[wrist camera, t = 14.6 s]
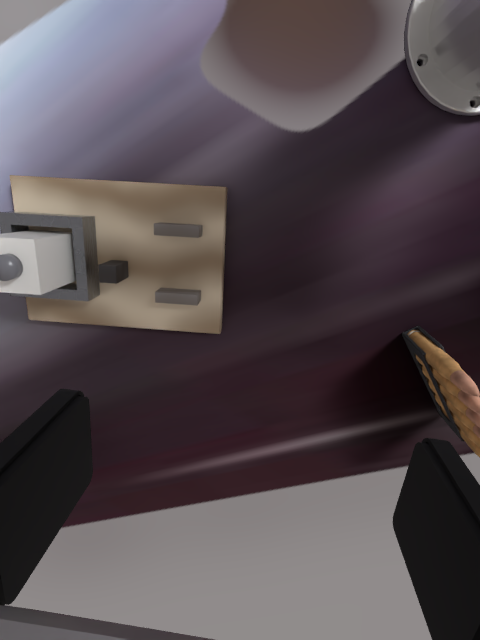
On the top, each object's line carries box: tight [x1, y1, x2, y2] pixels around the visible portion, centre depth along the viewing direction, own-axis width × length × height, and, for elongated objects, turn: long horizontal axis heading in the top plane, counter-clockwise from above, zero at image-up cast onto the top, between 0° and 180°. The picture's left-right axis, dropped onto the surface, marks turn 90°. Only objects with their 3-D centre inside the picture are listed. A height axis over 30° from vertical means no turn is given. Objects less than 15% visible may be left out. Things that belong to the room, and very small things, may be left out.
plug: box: [0, 230, 76, 295], centre depth 32 cm, size 4×4×8 cm
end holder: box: [0, 212, 100, 301], centre depth 34 cm, size 8×8×2 cm
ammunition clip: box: [402, 326, 480, 457], centre depth 33 cm, size 11×2×12 cm, turn 29°
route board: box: [10, 175, 227, 334], centre depth 35 cm, size 14×20×4 cm
